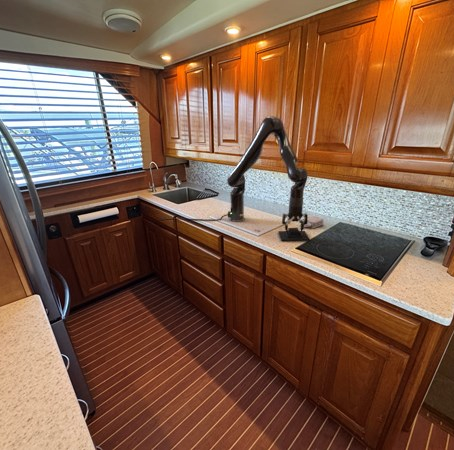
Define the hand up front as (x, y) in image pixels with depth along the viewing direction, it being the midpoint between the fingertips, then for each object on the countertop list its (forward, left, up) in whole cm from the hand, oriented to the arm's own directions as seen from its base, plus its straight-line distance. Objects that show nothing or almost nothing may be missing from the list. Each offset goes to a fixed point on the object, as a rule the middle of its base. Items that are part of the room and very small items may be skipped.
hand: (293, 230), depth 140 cm
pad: (0, 0, -3) cm, 3 cm away
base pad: (0, 0, -4) cm, 4 cm away
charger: (+14, +16, -4) cm, 22 cm away
